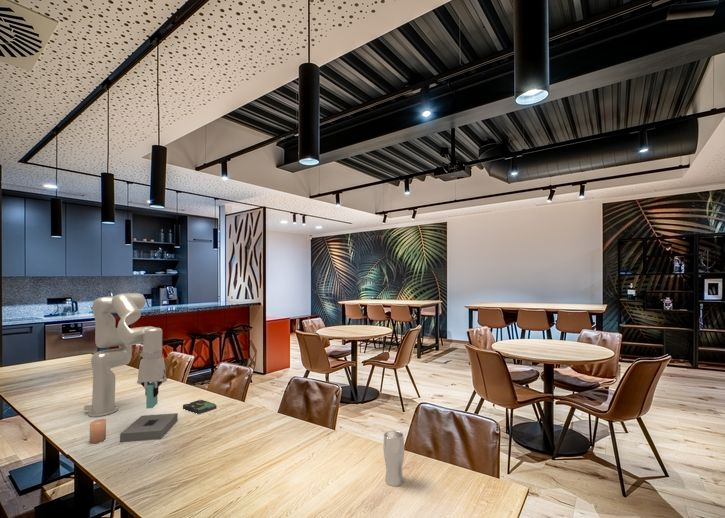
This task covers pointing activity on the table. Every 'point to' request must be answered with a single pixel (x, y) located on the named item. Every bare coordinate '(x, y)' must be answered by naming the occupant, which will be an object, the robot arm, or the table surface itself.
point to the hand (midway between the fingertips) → (151, 396)
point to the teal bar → (150, 396)
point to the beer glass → (394, 457)
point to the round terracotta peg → (97, 431)
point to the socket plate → (149, 427)
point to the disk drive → (199, 406)
